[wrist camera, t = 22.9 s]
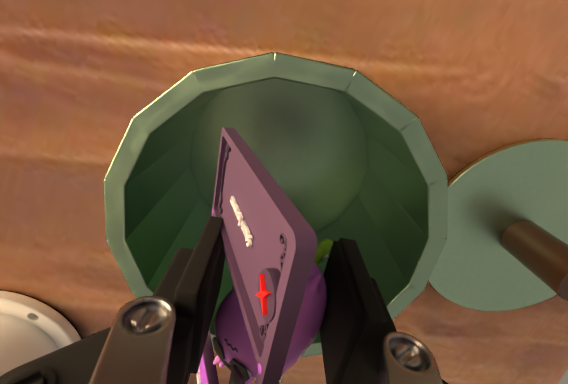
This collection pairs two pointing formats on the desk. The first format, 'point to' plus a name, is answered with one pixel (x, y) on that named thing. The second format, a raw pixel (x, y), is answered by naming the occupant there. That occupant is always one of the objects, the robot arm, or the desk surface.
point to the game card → (262, 273)
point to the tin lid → (507, 229)
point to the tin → (281, 170)
